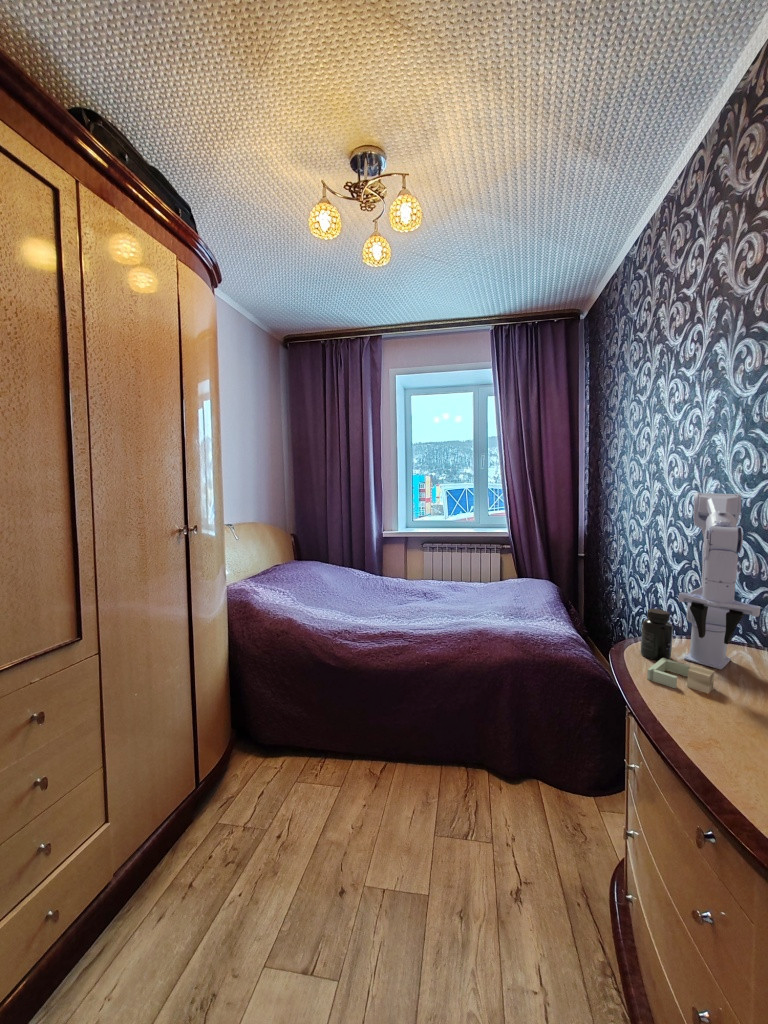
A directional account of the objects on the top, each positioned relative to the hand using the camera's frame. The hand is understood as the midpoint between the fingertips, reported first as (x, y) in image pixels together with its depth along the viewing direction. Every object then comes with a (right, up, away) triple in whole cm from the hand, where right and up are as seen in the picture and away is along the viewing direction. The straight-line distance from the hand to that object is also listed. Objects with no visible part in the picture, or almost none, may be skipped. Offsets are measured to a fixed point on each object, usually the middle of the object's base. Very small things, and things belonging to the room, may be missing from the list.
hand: (714, 639), depth 100 cm
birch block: (-4, -11, -1) cm, 11 cm away
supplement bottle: (-4, -9, +16) cm, 19 cm away
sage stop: (-8, -10, +4) cm, 13 cm away
